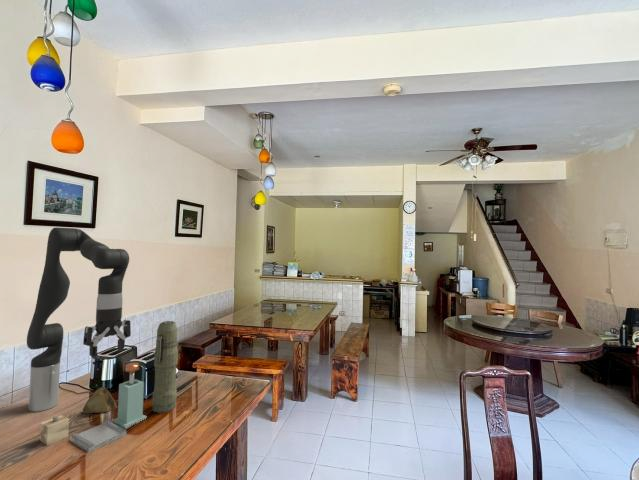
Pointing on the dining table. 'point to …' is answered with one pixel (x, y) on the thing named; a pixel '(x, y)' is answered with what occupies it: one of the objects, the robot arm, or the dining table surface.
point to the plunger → (132, 371)
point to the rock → (100, 402)
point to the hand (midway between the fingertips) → (107, 353)
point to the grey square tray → (98, 436)
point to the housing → (54, 429)
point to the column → (130, 404)
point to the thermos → (165, 368)
